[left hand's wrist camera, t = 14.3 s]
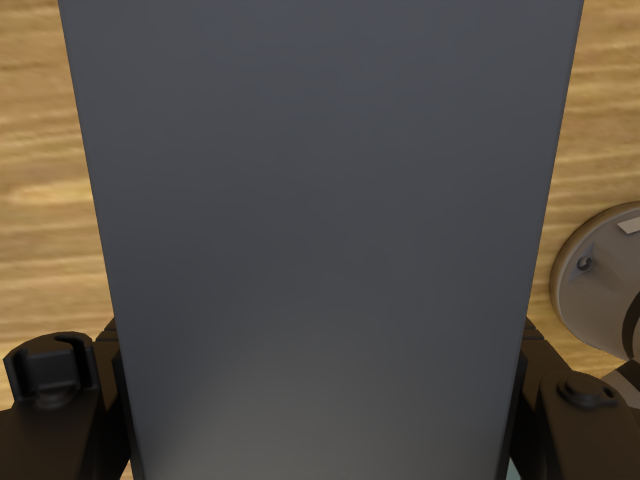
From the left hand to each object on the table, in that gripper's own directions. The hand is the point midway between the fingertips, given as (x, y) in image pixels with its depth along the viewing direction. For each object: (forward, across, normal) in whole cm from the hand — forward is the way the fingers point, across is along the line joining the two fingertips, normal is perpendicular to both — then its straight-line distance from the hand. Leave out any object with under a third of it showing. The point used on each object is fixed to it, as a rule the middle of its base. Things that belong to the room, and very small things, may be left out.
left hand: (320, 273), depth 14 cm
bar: (+1, 0, -26) cm, 26 cm away
